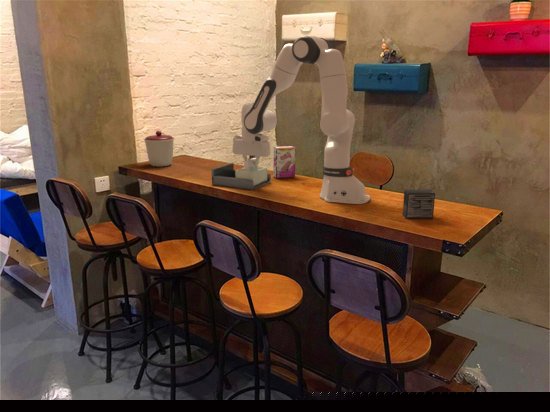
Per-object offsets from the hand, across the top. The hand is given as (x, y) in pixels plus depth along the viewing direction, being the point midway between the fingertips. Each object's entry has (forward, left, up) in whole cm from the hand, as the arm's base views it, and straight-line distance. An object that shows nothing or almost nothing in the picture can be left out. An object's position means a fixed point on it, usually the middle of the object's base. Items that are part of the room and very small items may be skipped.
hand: (251, 164), depth 225 cm
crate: (0, 0, -9) cm, 9 cm away
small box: (-85, +14, -11) cm, 87 cm away
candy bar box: (-6, -24, -11) cm, 27 cm away
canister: (+76, -17, -11) cm, 79 cm away
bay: (+6, 0, -11) cm, 12 cm away
